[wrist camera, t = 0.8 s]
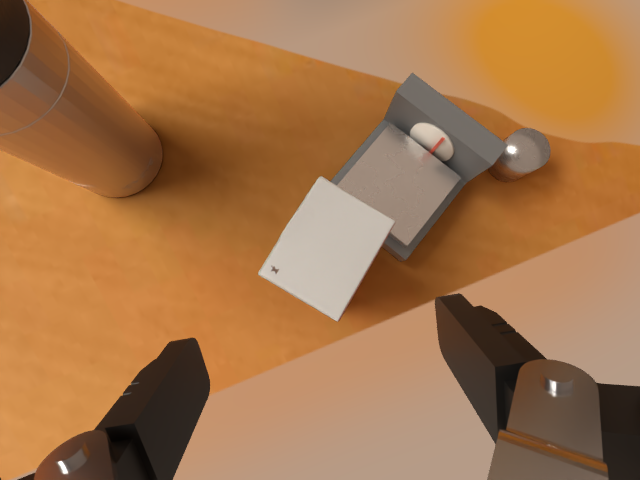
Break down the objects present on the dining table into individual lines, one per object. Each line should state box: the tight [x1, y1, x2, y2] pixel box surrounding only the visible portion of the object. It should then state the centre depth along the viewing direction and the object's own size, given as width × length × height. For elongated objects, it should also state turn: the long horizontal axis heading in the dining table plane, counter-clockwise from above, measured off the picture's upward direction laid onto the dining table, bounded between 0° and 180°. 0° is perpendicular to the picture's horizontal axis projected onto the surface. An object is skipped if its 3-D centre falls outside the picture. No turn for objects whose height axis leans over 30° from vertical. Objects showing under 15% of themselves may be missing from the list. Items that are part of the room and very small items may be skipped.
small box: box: [258, 176, 395, 321], centre depth 28 cm, size 8×6×13 cm
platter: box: [337, 122, 461, 247], centre depth 33 cm, size 9×9×1 cm
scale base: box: [330, 73, 508, 262], centre depth 33 cm, size 11×13×7 cm
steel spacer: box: [488, 128, 550, 182], centre depth 35 cm, size 4×4×4 cm
